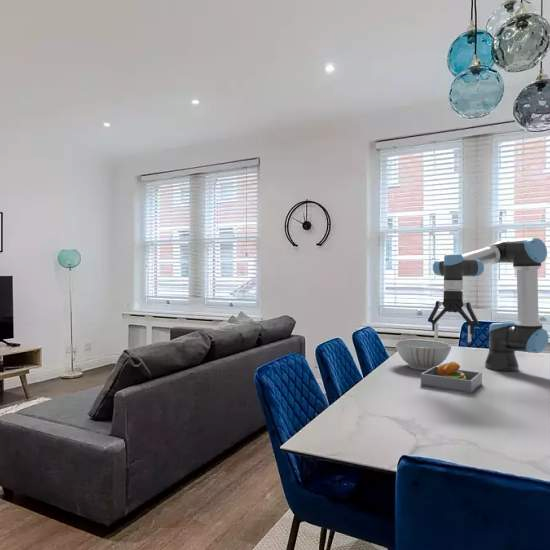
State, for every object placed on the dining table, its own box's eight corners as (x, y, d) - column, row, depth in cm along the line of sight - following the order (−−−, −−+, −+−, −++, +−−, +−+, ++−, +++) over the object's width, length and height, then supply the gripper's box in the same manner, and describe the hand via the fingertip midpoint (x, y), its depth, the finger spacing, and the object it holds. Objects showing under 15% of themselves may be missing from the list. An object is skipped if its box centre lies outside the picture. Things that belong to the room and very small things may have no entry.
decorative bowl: (423, 375, 204) (423, 349, 204) (383, 364, 228) (384, 341, 228) (463, 370, 217) (463, 345, 217) (421, 360, 241) (422, 338, 240)
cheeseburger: (470, 386, 182) (464, 362, 183) (443, 391, 184) (438, 367, 185) (464, 380, 192) (459, 357, 193) (439, 384, 194) (434, 362, 195)
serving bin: (434, 377, 202) (434, 366, 202) (481, 384, 190) (481, 372, 190) (420, 385, 187) (420, 373, 187) (471, 393, 175) (471, 381, 175)
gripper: (420, 289, 192) (420, 338, 193) (482, 291, 178) (482, 344, 178) (426, 289, 198) (425, 336, 199) (486, 290, 184) (486, 341, 184)
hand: (452, 340), depth 188 cm, fingers open, 13 cm apart
